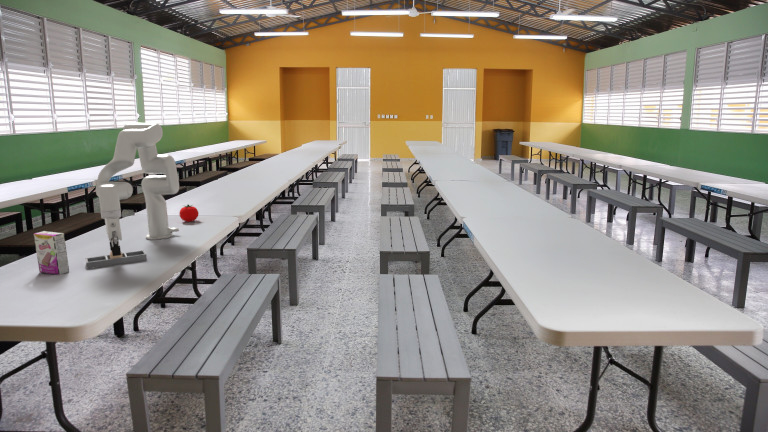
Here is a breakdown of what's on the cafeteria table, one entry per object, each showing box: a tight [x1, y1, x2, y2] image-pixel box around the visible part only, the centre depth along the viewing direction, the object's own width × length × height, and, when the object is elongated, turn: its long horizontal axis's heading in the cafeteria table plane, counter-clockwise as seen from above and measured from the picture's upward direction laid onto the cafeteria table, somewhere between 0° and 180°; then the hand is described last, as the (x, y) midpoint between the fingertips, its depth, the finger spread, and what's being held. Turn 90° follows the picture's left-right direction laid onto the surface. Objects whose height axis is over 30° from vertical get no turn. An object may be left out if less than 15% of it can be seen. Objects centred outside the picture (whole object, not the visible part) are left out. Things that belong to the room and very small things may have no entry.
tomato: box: [178, 204, 199, 223], centre depth 305 cm, size 10×10×10 cm
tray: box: [85, 249, 148, 270], centre depth 227 cm, size 23×8×3 cm, turn 121°
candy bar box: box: [33, 230, 70, 276], centre depth 212 cm, size 11×5×16 cm, turn 71°
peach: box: [109, 250, 123, 259], centre depth 226 cm, size 5×5×5 cm
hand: (115, 252), depth 226 cm, fingers open, 9 cm apart
